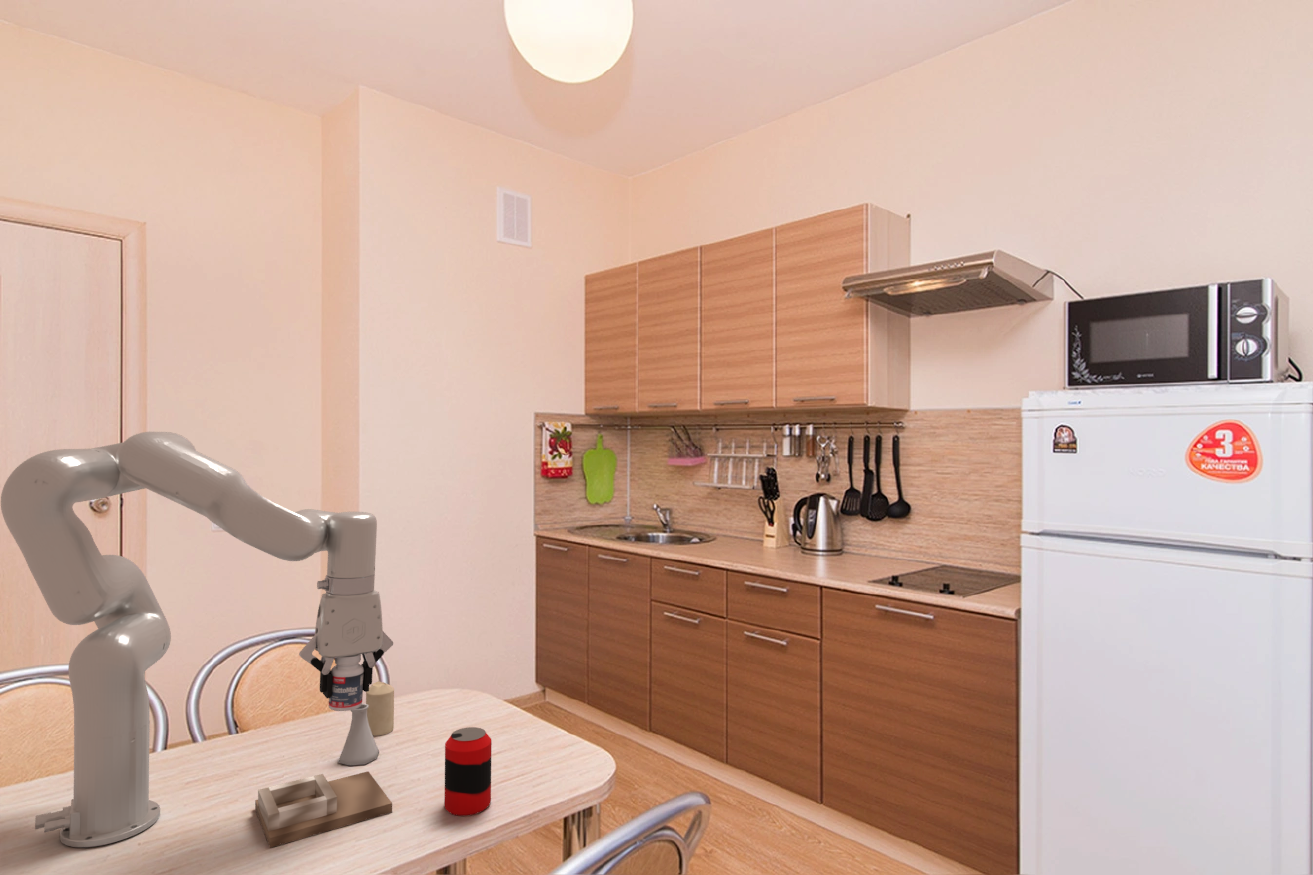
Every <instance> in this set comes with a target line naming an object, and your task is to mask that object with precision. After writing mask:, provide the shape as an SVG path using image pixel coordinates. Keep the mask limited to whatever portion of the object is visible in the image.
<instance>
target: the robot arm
mask: <svg viewBox="0 0 1313 875" xmlns="http://www.w3.org/2000/svg"><path fill="white" fill-rule="evenodd" d="M144 489H147V490H149V491H151V492H153V493H156V494H157V495H160V496H161V497H164V498H165V499H167V500H170V501H173V502H174V503H177V504H178V505H181V506H183V507H185V508H187V509H190V510H191V511H193V512H196V513H197V514H200V515H201V516H203V517H205V518H207V519H208V520H209V521H210V522H211V523H213V524H214V525H215V526H217V527H219V528H220V529H222V530H223V531H224V532H226V533H228V534H229V535H230V536H232V537H234V538H235V539H237V540H239V541H241V542H242V543H245V544H247V545H249V546H251V547H253V548H255V549H257V550H259V551H260V552H264V553H266V554H268V555H270V556H272V557H274V558H277V559H280V560H283V561H287V562H300V561H304V560H306V559H308V558H309V557H312V556H313V555H315V554H316V553H319V552H326V551H327V567H326V568H327V570H326V575H325V578H324V579H322V580H317V582H316V588H317V590H322V591H323V590H324V591H325V592H324V593H323V594H321V597H320V601H319V605H318V610H317V616H316V622H315V629H314V630H315V631H314V634H313V635H314V636H312V637H311V639H310V640H309V641H308V642H307V643H306V644H305V645H304V647H302V649H301V650H300V651H299V653H298V655H299V657H300V658H301V659H302V660H304V661H306V662H307V663H308V664H310V665H311V666H312V667H314V668H315V669H316V670H317V671H319V673H320V674H319V692H320V693H322V694H323V696H324V697H325V698H326V699H329V698H331V697H332V681H333V675H332V673H331V669H332V667H333V666H332V665H333V663H334V661H335V658H336V657H343V656H351V655H358V654H361V658H362V660H363V661H362V663H361V664H360V665H362V666H363V668H364V677H363V692H365V693H366V692H368V691H369V688H370V686H371V685H372V684H373V672H374V671H373V669H374V667H375V666H376V663H378V661H379V660H380V659H381V658H382V657H383V656H384V654H385V653H386V652H387V651H388V650H390V649H391V648H392V646H393V645H394V642H393V640H392V639H391V638H390V637H389V636H388V635H387V633H386V632H384V630H383V629H384V628H383V612H382V603H381V596H380V592H379V591H377V590H375V578H376V577H375V576H376V575H375V574H376V573H375V572H376V554H377V531H378V529H377V528H378V522H377V517H376V516H375V514H373V513H370V512H366V511H365V512H364V511H342V512H335V511H326V510H319V509H312V508H311V509H309V508H308V509H300V510H298V511H293V510H291V509H289V508H286V507H284V506H282V505H280V504H278V503H276V502H273V501H272V500H270V499H269V498H267V497H265V496H263V495H262V494H260V493H258V492H257V491H255V490H254V489H253V488H252V487H251V486H250V485H249V484H248V483H247V481H246V479H245V478H244V475H242V474H241V472H239V471H238V470H236V469H235V468H233V467H230V466H228V465H226V464H225V463H223V462H220V461H218V460H216V459H214V458H212V457H210V456H208V455H206V454H203V453H201V452H200V451H197V449H196V448H195V445H193V443H192V442H191V441H190V440H189V439H188V438H186V437H185V436H183V435H181V434H178V433H177V432H170V431H144V432H140V433H139V432H138V433H136V434H133V435H132V436H130V437H128V438H127V439H126V440H125V441H123V442H119V443H114V444H108V445H104V446H99V447H91V448H61V449H53V450H47V451H44V452H40V453H38V454H35V455H32V456H31V457H29V458H27V459H26V460H24V461H23V462H21V463H20V464H19V465H18V466H16V468H15V469H14V470H13V471H12V472H11V473H10V475H9V476H8V477H7V479H6V481H5V483H4V484H3V487H2V490H1V495H0V510H1V514H2V517H3V520H4V522H5V525H6V526H7V529H8V530H9V532H10V534H11V535H12V537H13V539H14V541H15V543H16V545H17V546H18V548H19V549H20V552H21V554H22V557H23V558H24V560H25V561H26V564H27V567H28V569H29V571H30V573H31V575H32V576H33V579H34V581H35V582H36V585H37V586H38V589H39V590H40V593H41V594H42V596H43V598H44V600H45V602H46V605H47V606H48V608H49V611H51V613H52V615H53V616H54V617H55V618H56V619H57V620H58V621H59V622H62V623H64V624H67V625H70V626H81V625H86V624H89V623H92V622H94V624H95V626H96V627H97V629H96V630H93V631H92V632H91V633H89V634H88V635H86V636H85V637H84V638H83V639H82V640H80V641H79V643H78V644H77V645H76V647H75V648H74V649H73V652H72V653H71V655H70V658H69V661H68V679H69V680H68V681H69V685H70V690H71V694H72V704H73V739H74V740H73V798H72V799H71V802H70V805H69V806H65V807H62V810H59V811H58V810H57V811H53V812H51V811H50V812H46V813H43V814H38V815H35V820H34V821H35V822H34V830H39V829H42V828H43V831H44V833H48V832H51V831H52V832H53V831H56V830H59V829H60V831H59V840H60V841H61V843H62V844H63V845H65V846H69V847H73V848H91V847H92V848H93V847H99V846H104V845H109V844H113V843H116V842H117V843H118V842H120V841H123V840H125V839H129V838H131V837H133V836H136V835H137V834H139V833H140V834H141V833H142V832H143V831H145V830H147V829H149V828H150V827H151V826H153V824H155V823H156V821H158V820H159V818H160V815H161V806H160V804H159V803H158V802H156V801H153V800H149V799H150V730H151V729H150V721H151V720H150V697H149V691H148V688H147V683H146V678H145V673H146V671H147V670H148V669H149V668H151V667H152V666H153V665H155V664H156V663H157V662H159V661H160V660H161V659H162V658H163V657H164V656H165V654H166V653H167V651H168V649H169V648H170V645H171V641H172V635H171V628H170V626H169V622H168V620H167V618H166V616H165V614H164V611H163V610H162V608H161V606H160V603H159V602H158V599H157V597H156V595H155V593H154V591H153V589H152V588H151V586H150V583H149V580H148V579H147V578H146V576H145V573H144V572H143V571H142V569H141V568H140V567H139V566H138V565H137V564H136V563H134V562H133V560H131V559H129V558H127V557H125V556H121V555H118V554H102V553H101V552H100V550H99V548H98V546H97V545H96V543H95V541H94V537H93V535H92V532H90V529H89V527H87V525H86V524H85V523H84V522H83V521H82V519H81V518H79V516H78V515H77V514H76V513H75V510H74V509H73V506H74V504H76V503H81V502H88V501H94V500H99V499H104V498H108V497H112V496H113V497H114V496H117V495H122V494H126V493H131V492H136V491H139V490H144ZM314 651H316V652H318V654H319V655H320V656H321V658H318V657H317V656H315V655H314V654H313V652H314Z"/></svg>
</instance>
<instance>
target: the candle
mask: <svg viewBox="0 0 1313 875" xmlns="http://www.w3.org/2000/svg"><path fill="white" fill-rule="evenodd" d="M365 704H368V705H369V707H368V709H367V718H368V724H369V727H370V729H371V732H372V735H373V737H376V736H377V737H378V736H384V735H387V734H390V733H392V732H393V731H394V727H395V726H394V725H395V688H394V687H393V685H392V684H388V683H387V682H383V681H376V682H374V683H373V682H372V684H371V685H370V686H369V691H368V692H365Z"/></svg>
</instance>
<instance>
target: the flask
mask: <svg viewBox="0 0 1313 875" xmlns="http://www.w3.org/2000/svg"><path fill="white" fill-rule="evenodd" d="M368 707H369V705H368V704H366V703H362V705H361V706H360V707H359V708H356V709H354V710H350V712H351V723H350V726H349V731H348V733H347V737H346V740H345V743H344V745H343V747H342V750H341V754H340V756H339V759H338V761H337V763H339V764H342V765H346V766H359V765H360V766H362V765H366V764H368V763H371V762H372V761H375V760H376V759H378V756H379V753H380V749H379V747H378V745H377V742H376V740H375V736H373V735H372V732H371V729H370V727H369V724H368V718H367V709H368Z"/></svg>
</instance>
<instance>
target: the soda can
mask: <svg viewBox="0 0 1313 875" xmlns="http://www.w3.org/2000/svg"><path fill="white" fill-rule="evenodd" d="M491 801H492V738H491V737H490V735H489V734H488V733H487V731H486V730H485V729H484V728H481V727H475V726H469V727H468V726H467V727H462V728H458V729H456V730H455V731H453V732H452V733H451V734H450V736H449V737H448V739H447V740H446V741H445V743H444V804H443V805H444V806H443V807H444V809H445V810H446V811H447V812H448V813H449V814H451V815H453V816H458V817H467V816H473V815H477V814H480V813H481V812H484V811H485V810H486V809H487V808H488V807H489V806H490V804H491Z"/></svg>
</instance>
